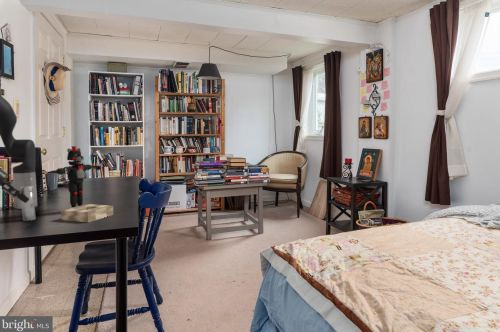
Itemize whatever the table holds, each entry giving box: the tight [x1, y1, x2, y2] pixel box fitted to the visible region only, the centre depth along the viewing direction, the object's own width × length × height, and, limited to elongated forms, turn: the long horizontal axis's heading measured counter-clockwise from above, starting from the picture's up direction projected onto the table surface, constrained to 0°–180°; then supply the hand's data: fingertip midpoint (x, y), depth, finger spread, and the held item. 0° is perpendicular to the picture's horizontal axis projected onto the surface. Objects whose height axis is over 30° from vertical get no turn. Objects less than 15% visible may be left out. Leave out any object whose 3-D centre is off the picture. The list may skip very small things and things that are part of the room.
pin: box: [21, 185, 36, 222], centre depth 142 cm, size 4×4×14 cm
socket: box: [61, 203, 114, 223], centre depth 145 cm, size 14×14×4 cm
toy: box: [46, 145, 102, 208], centre depth 156 cm, size 30×8×30 cm, turn 168°
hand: (26, 199), depth 141 cm, fingers open, 8 cm apart
